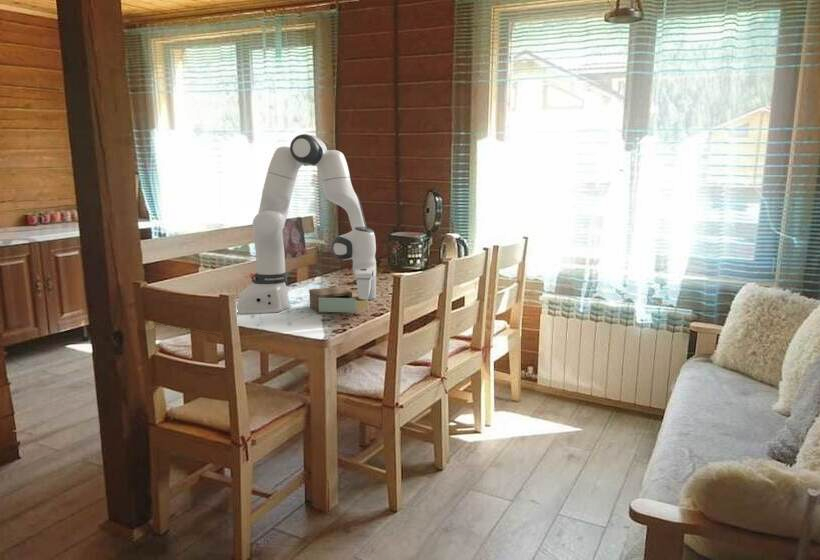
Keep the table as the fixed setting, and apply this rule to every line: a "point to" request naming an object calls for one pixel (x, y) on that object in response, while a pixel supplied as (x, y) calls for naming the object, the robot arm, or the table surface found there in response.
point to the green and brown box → (327, 295)
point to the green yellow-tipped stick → (341, 305)
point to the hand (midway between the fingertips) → (365, 305)
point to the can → (372, 289)
